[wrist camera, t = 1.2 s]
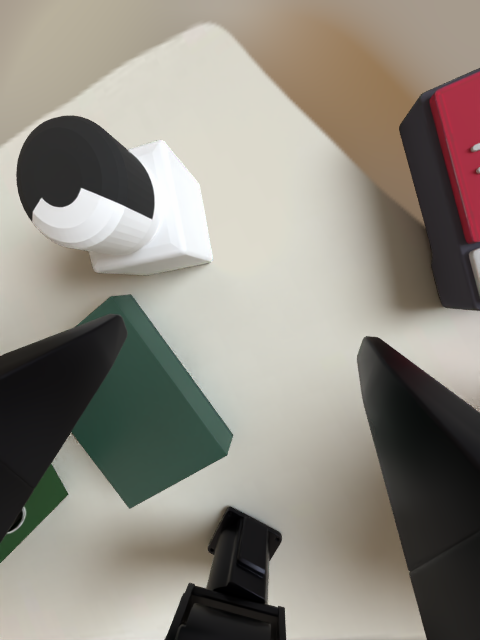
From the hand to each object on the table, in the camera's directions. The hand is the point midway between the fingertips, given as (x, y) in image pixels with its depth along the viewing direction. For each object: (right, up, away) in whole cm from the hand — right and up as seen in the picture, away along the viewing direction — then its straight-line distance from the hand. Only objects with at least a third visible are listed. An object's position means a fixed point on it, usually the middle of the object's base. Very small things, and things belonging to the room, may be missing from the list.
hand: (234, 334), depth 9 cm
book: (-11, -8, +17) cm, 22 cm away
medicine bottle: (-6, +9, +14) cm, 18 cm away
